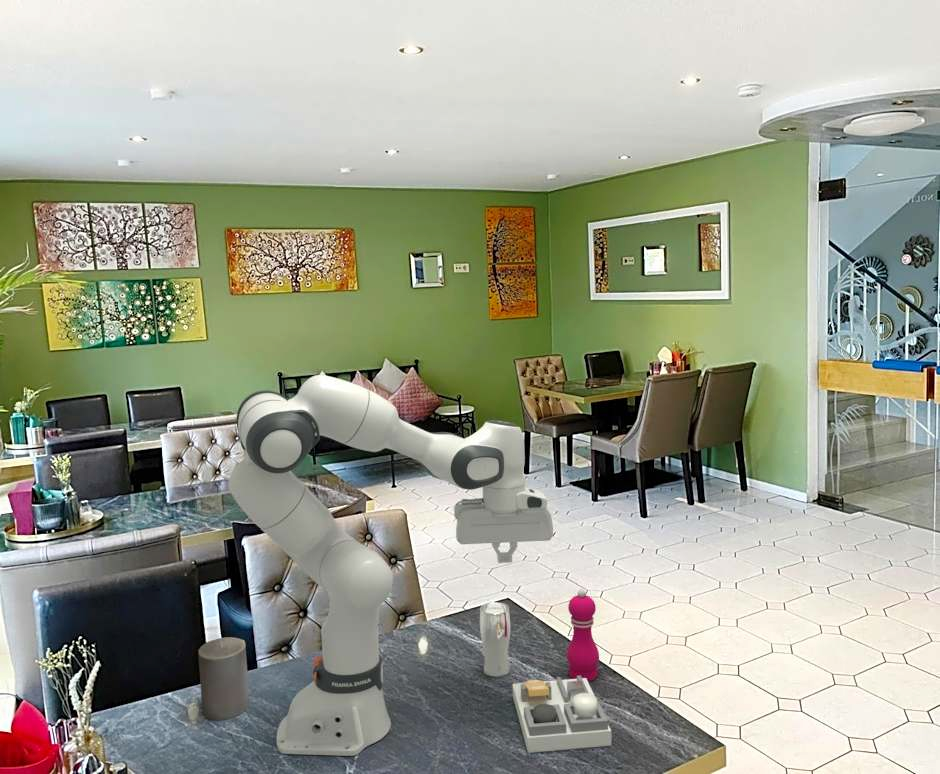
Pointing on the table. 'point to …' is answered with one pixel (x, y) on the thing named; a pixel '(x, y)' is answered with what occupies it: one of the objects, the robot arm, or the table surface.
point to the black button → (544, 713)
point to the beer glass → (495, 638)
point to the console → (560, 720)
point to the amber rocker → (536, 688)
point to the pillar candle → (223, 678)
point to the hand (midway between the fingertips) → (504, 561)
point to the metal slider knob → (574, 689)
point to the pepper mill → (582, 638)
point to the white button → (585, 705)
